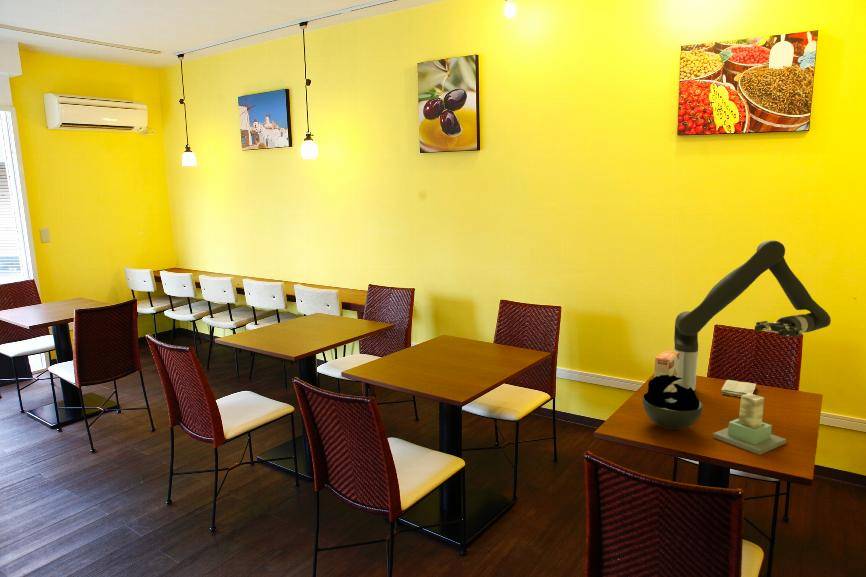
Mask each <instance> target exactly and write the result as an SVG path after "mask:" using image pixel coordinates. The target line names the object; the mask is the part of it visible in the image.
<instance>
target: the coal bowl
mask: <svg viewBox="0 0 866 577" xmlns="http://www.w3.org/2000/svg"><path fill="white" fill-rule="evenodd" d="M679 379H682V378H679V377H676V376H674V375H672V376H669V375H660V376H659V377H658V376H656V377H654V376H653V378H652V379H649V381H648V383H647V384H648V386H647V387H648V388H647V392H646V393H644V394H643V396H642V399H641V400H642V406H643V409H644V411H645V413H646V416H648V417H649V419H650V420H651V421H652V422H653V423H654V424H656V425H657V426H658V427H661V428H663V429H666V430H670V431H671V430H672V431H679V430H684V429H686V428H690V427H691V426H693V425H694V424H696V422H697V421H698V420H699V419H700V417H701V414H702V412H703V410H704V409H703V408H704V404H703V402H702V401H701V400H699V398H698V397H697V394H696V393H695V390H694V391H693V389H692V388H689V389H686V388H685V387H682V386H680V385H679V384H673V385H674V387H675V388H676V389H677V390H676V392H664V390H665V389H666V388H667V387H668V386H669V385H670V384H671V383H672V382H674V381H677V380H679Z"/></svg>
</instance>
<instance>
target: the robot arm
mask: <svg viewBox="0 0 866 577" xmlns="http://www.w3.org/2000/svg"><path fill="white" fill-rule="evenodd" d="M785 254H786V247H785V245H784V244H783V243H782V242H780V241H777V240H772V239H770V240H765V241H762V242H761V243H760V244H758V247H756V251H755V252H754V253H753V255H751V257H750V258H748V260H746V262H744V263H743V264H741V265H740V266H738V267H736V268H735V269H733V270H731V272H729V273H728V274H726V275H725V276H724V277H723V278H722V279H720V280H719V281H718V282H717V283H716V284H715V285H714V286H712V288H711V289H710V290H709V292H708V293H707V295H706V296H705V297H704V299H703V300H702V301H701V303H699V305H697V306H696V307H695V308H694V309H692V310H691V311H682V312H680V313H679V314H678V315H677V316H676V318H675V321H674V335H673V338H674V340H673V341H674V348H673V349H674V351H675V352H679V353H680V355H679V366H678V377H679V378H682V379H679V380H677V384H679V385H680V386H682V387H685V388H686V389H689V388H692V389H693V391H694V392H695V390H696V382H697V368H698V355H699V342H698V341H699V340H698V335H699V333H700V331H702V329H704V327H706V325H707V324H708V323H709V322H710V321H711V319H713V318H714V317H715V316H716V315H717V314H719V313H720V312H721V311H723V310H724V309H725V308H726V307H728V306H729V305H731V303H732V302H733V301H735V300H736V299H737V298H738V297H739V296H741V295H742V294H743V293H744V292H745V291H746V290H747V289H748V288H749V287H750V286H751V285H752V284H753V283H754V282H755V281H756V280H757V279H758V278H759V277H760V276H761V275H762V274H763V273H765V272H766V271H767V270H769V271H770V272H771V274H772V275H773V277H775V279H776V281H777V283H778V284H779V286H780V288H781V289H782V291H783V292H784V294H785V296H786V297H787V298H788V300H789V301H790V304H791V305H792V307H793V309H795V310H796V311H803V310H804V311H806V310H807V311H809V313H803V314H794V315H788V316H783V317H780V318H779V319H777V320H776V321H774V322H773V321H771V322H770V321H767V320H762V321H757V322H755V326H754V331H755V332H761V331H765V332H767V333H775V334H778V337H785V338H790V337H793V338H795V337H799V336H801V335H802V334H804V333H810V332H813V331H814V332H815V331H818V330H821V329H824V328H827V327H829V326H830V325H831V322H832V319H831V316H830V315H829V313H828V311H826V310H825V309H824V307H821V306H820V305H819V304H818V303H817V302H816V301H815V300H814V299H813V298H812V296H811V294H810V293H809V291H808V290H807V288H806V287H805V286H804V284H803V283H802V281H801V280H800V279H799V278H798V276H796V274H795V273H794V271H792V268H790V267H789V264H788V263H787V261H786V259H785ZM676 391H677V389H676Z"/></svg>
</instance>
